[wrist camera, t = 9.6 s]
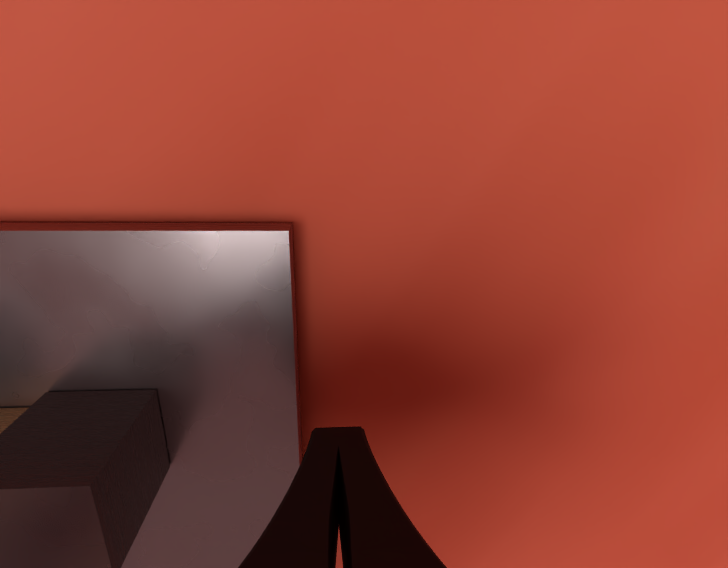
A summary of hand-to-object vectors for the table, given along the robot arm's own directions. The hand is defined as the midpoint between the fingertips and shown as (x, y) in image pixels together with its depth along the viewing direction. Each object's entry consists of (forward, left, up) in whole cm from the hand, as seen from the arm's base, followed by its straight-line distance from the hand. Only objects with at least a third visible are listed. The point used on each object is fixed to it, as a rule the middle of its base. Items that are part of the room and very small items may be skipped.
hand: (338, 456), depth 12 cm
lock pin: (0, +11, -1) cm, 11 cm away
